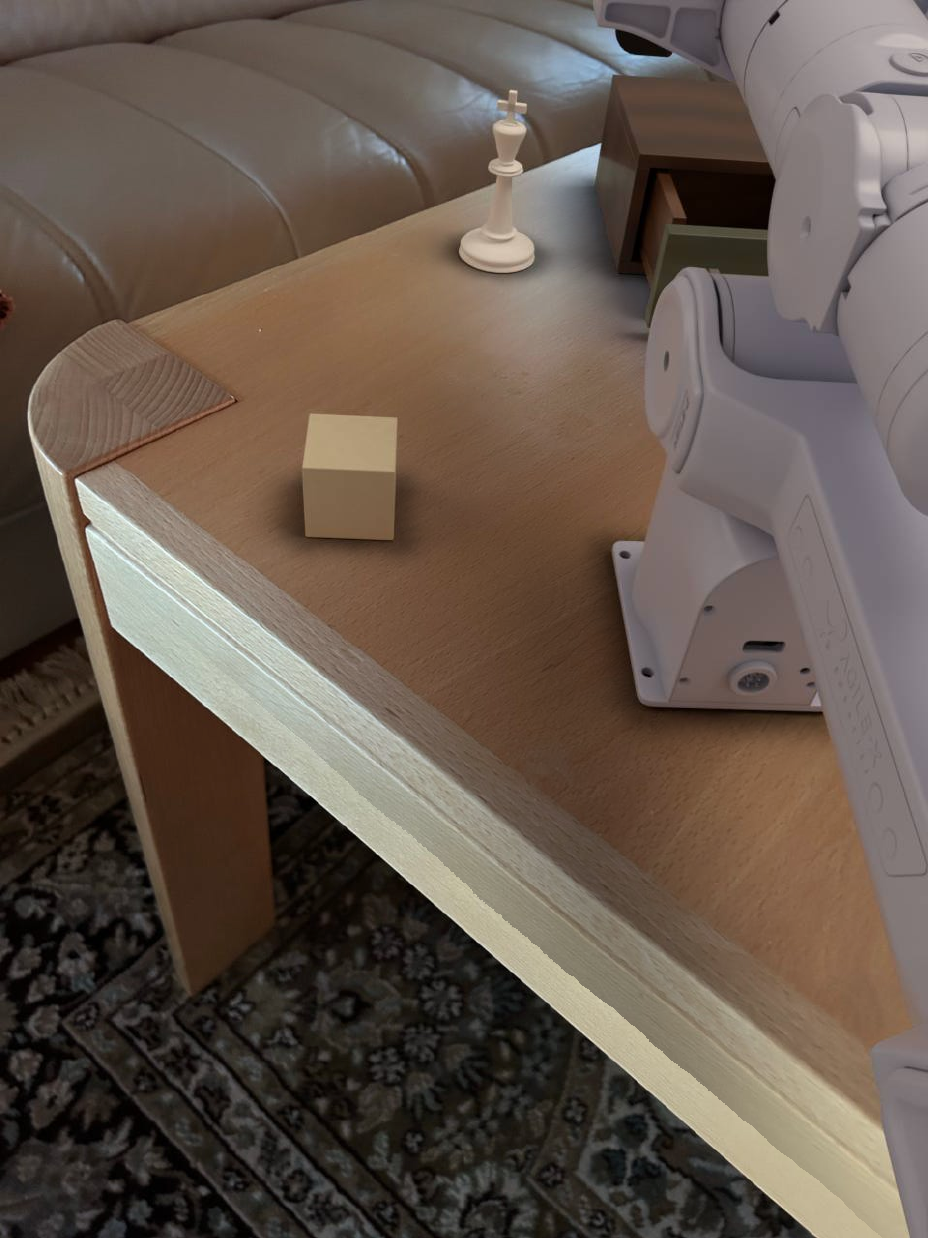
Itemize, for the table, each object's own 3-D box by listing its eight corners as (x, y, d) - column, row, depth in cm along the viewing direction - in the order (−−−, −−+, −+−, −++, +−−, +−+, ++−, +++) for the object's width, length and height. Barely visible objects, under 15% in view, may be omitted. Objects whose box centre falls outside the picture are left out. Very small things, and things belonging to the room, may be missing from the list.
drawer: (859, 383, 57) (899, 288, 53) (659, 373, 56) (683, 275, 52) (788, 242, 69) (815, 155, 64) (620, 232, 68) (637, 143, 64)
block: (393, 540, 47) (395, 471, 44) (305, 537, 46) (301, 467, 44) (395, 485, 49) (397, 416, 47) (312, 481, 49) (309, 412, 46)
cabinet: (806, 284, 67) (846, 166, 61) (616, 273, 66) (639, 153, 60) (762, 195, 76) (793, 86, 70) (594, 185, 75) (612, 73, 69)
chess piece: (528, 278, 64) (549, 113, 57) (451, 265, 65) (463, 99, 58) (539, 243, 68) (560, 83, 61) (467, 231, 68) (479, 70, 61)
